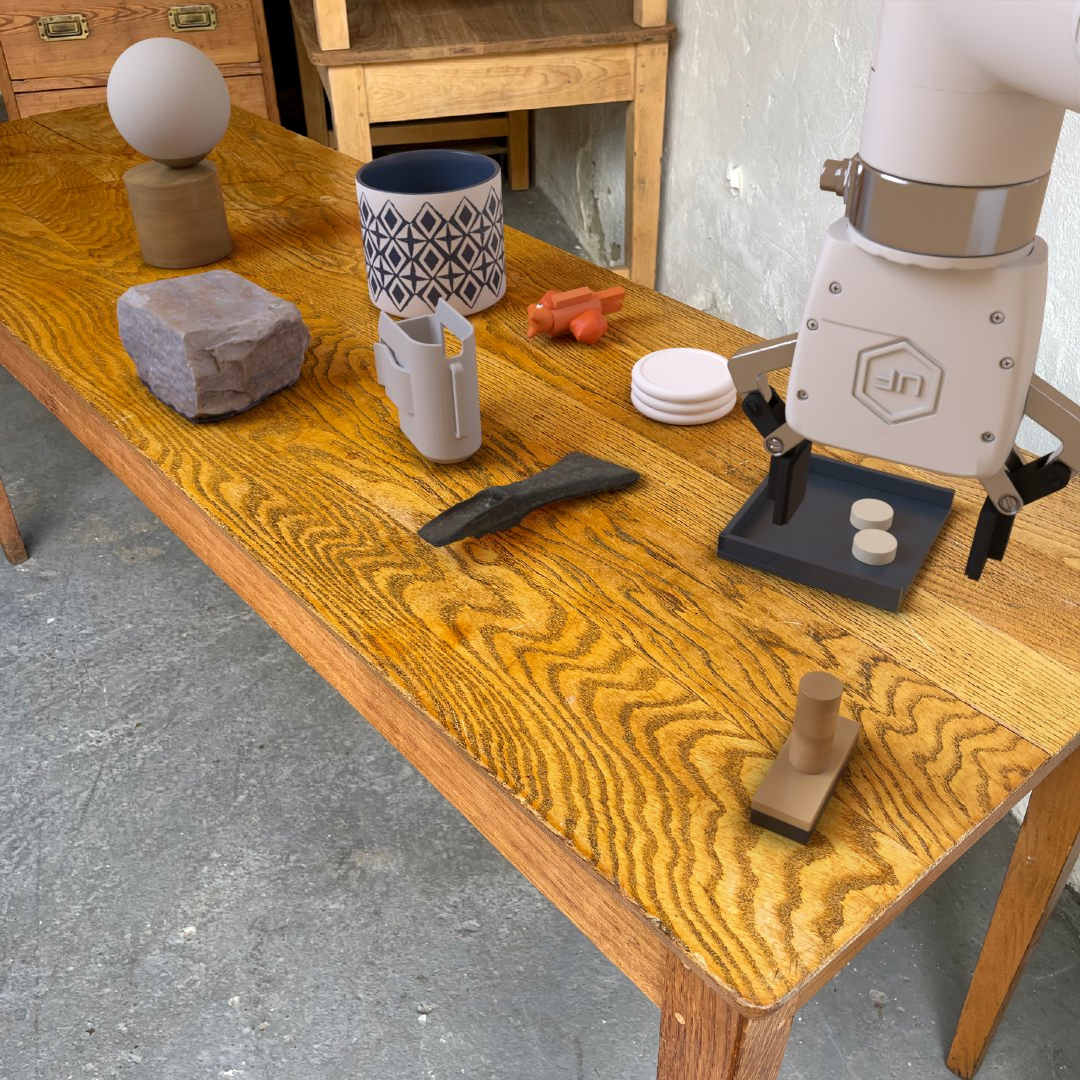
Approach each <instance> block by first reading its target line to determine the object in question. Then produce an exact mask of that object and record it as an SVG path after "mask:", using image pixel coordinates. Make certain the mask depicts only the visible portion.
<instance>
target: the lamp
mask: <svg viewBox="0 0 1080 1080" xmlns="http://www.w3.org/2000/svg"><path fill="white" fill-rule="evenodd" d="M106 100H107V101H106V102H107V107H108V111H109V114H110V117H111V119H112V122H113V124H114V126H115V128H116V129H117V131H118V133H119V134H120V135H121V137H122V138H123V140H125V141H126V142H127V144H129V146H131V148H133V149H134V150H135V151H137V152H138V153H140V154H142V155H144V156H146V157H147V158H149V159H150V160H152V161H147V162H144V163H141V164H137V165H135V166H133V167H131V168H129V169H127V170H126V171H125V172H124V173H123V176H122V178H123V183H124V188H125V190H126V196H127V199H128V204H129V208H130V212H131V216H132V220H133V224H134V228H135V232H136V237H137V240H138V245H139V249H140V253H141V252H142V253H141V256H142V257H141V258H142V259H143V261H144V263H145V264H147V265H148V266H151V267H154V268H159V269H168V270H169V269H171V270H172V269H173V270H174V269H177V270H178V269H180V270H181V269H189V268H196V267H201V266H205V265H206V266H207V265H209V264H212V263H215V262H218V261H220V260H222V259H224V258H225V257H227V256H228V255H229V254H230V253H231V252H232V250H233V241H232V237H231V232H230V226H229V222H228V216H227V212H226V211H227V210H226V206H225V201H224V195H223V190H222V186H221V180H220V175H219V170H218V166H217V164H216V163H215V162H214V161H212V160H209V159H207V158H208V156H209V155H210V154H211V153H212V152H213V151H214V149H215V148H216V147H217V146H218V145H219V144H220V142H221V141H222V139H223V138H224V136H225V134H226V133H227V130H228V127H229V123H230V118H231V97H230V92H229V88H228V86H227V83H226V81H225V78H224V76H223V74H222V72H221V71H220V70H219V68H218V66H217V65H216V64H215V63H214V61H212V59H211V58H210V57H209V56H207V54H205V53H204V52H203V51H202V50H200V48H198V47H196V46H194V45H192V44H190V43H188V42H186V41H183V40H180V39H176V38H172V37H164V36H163V37H162V36H159V37H151V38H147V39H144V40H141V41H138V42H136V43H134V44H132V45H131V46H129V47H128V48H126V50H124V51H123V52H122V53H121V54H120V56H119V57H118V58H117V59H116V61H115V62H114V64H113V66H112V68H111V70H110V73H109V76H108V80H107V86H106Z"/></svg>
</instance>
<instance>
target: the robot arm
mask: <svg viewBox="0 0 1080 1080" xmlns="http://www.w3.org/2000/svg"><path fill="white" fill-rule="evenodd" d="M871 53H872V54H871V60H870V67H869V68H870V69H869V73H868V81H867V89H866V90H867V91H866V94H865V102H864V109H863V110H864V111H863V117H862V126H861V132H860V136H859V137H860V139H859V144H858V152H856V153H855V154H854V155H853V156H851V157H850V158H849V157H843V159H842V160H838V159H832V158H831V159H830V158H826V160H825V161H824V163H823V165H822V168H821V172H820V175H819V189H820V191H822V192H823V191H824V192H830V193H835V195H836V196H837V197H840V198H843V205H845V210H844V214H843V215H842V216H841V217H839V218H838V219H837V220H835V221H834V222H832V223H831V224H830V225H829V226H828V228H827V230H826V232H825V235H824V237H823V239H822V244H821V246H820V249H819V252H818V255H817V258H816V261H815V265H814V268H813V272H812V275H811V278H810V281H809V286H808V289H807V294H806V298H805V301H804V306H803V311H802V315H801V320H800V323H799V329H798V331H796V332H793V333H790V334H786V335H783V336H779V337H775V338H771V339H768V340H764V341H760V342H757V343H752V344H750V345H746V346H743V347H740V348H738V349H737V350H736V351H735V352H734V353H733V355H732V356H730V358H729V359H727V360H728V363H727V367H728V370H729V373H730V375H731V378H732V380H733V382H734V385H735V387H736V390H737V392H736V393H737V395H739V396H740V399H741V401H742V402H741V410H742V412H743V414H744V415H745V416H746V418H747V419H748V420H749V421H750V423H751V424H752V425H753V426H754V428H755V429H756V430H757V432H758V433H759V434H760V436H761V437H762V438H763V449H764V450H765V452H766V453H767V454H769V455H770V462H769V470H768V474H769V477H768V486H767V498H768V499H772V500H775V502H774V510H773V518H772V523H773V524H776V525H779V526H783V525H784V524H785V525H787V524H788V523H789V521H790V520H791V518H792V517H793V515H794V514H795V512H796V511H797V509H798V508H799V506H800V505H801V503H802V502H803V500H804V497H805V492H806V485H807V478H808V470H809V463H810V456H811V453H812V449H813V443H815V444H818V445H821V446H825V447H829V448H832V449H836V450H840V451H843V452H849V453H853V454H856V455H859V456H860V455H861V456H864V457H869V458H872V459H878V460H881V461H885V462H888V463H892V464H896V465H901V466H905V467H909V468H914V469H918V470H922V471H925V472H931V473H934V474H939V475H944V476H947V477H953V478H959V479H967V480H978V481H979V483H980V485H981V486H982V488H983V489H984V491H985V492H986V497H985V499H984V501H983V504H982V506H981V509H980V511H979V514H978V518H977V521H976V526H975V529H974V533H973V538H972V541H971V546H970V548H969V553H968V557H967V561H966V565H965V569H964V572H963V574H964V575H965V576H967V579H968V580H972V581H976V582H980V579H981V576H982V574H983V571H984V569H985V568H986V567H985V566H986V564H987V562H988V559H990V560H992V561H993V560H994V561H998V562H1002V561H1003V559H1004V556H1005V554H1006V552H1007V548H1008V545H1009V543H1010V542H1009V541H1010V538H1011V534H1012V530H1013V527H1014V524H1015V519H1016V516H1017V514H1019V513H1020V512H1022V510H1023V508H1024V507H1026V506H1027V505H1030V504H1032V503H1034V502H1036V501H1039V500H1041V499H1043V498H1046V497H1048V496H1050V495H1052V494H1054V493H1057V492H1059V491H1061V490H1063V489H1065V488H1066V487H1067V486H1068V485H1069V483H1070V481H1071V480H1072V479H1074V478H1075V477H1076V476H1077V475H1078V474H1080V405H1079V404H1077V403H1076V402H1075V401H1073V400H1072V399H1070V398H1069V397H1067V396H1066V395H1065V394H1064V393H1062V392H1061V391H1059V390H1058V389H1057V388H1055V387H1054V386H1053V385H1052V384H1050V383H1049V382H1047V381H1045V380H1044V378H1042V377H1041V376H1038V375H1037V374H1036V373H1035V371H1036V365H1037V360H1038V355H1039V351H1040V350H1039V349H1040V343H1041V337H1042V331H1043V325H1044V319H1045V318H1044V317H1045V309H1046V302H1047V291H1048V278H1049V277H1048V276H1049V275H1048V273H1049V245H1048V243H1047V242H1046V240H1045V239H1044V238H1043V237H1041V235H1038V234H1037V230H1038V225H1039V222H1040V217H1041V214H1042V209H1043V205H1044V202H1045V197H1046V194H1047V190H1048V185H1049V182H1050V178H1051V177H1050V176H1051V173H1052V167H1053V164H1054V163H1053V162H1054V159H1055V155H1056V151H1057V147H1058V143H1059V139H1060V134H1061V131H1062V127H1063V124H1064V120H1065V115H1066V113H1067V112H1066V111H1067V110H1068V111H1071V112H1073V113H1076V114H1079V115H1080V0H879V5H878V12H877V18H876V24H875V32H874V40H873V45H872V52H871ZM790 367H791V368H790ZM786 368H790V373H789V378H788V383H787V390H786V398H785V402H784V400H783V398H782V397H781V396H780V395H779V393H778V392H777V391H776V390H775V388H774V387H773V386H772V385H770V384H769V382H768V381H769V378H768V375H767V373H771V372H774V371H779V370H783V369H786ZM1025 416H1026V417H1028V418H1029V419H1031V420H1032V421H1033V422H1035V423H1036V424H1037V425H1039V426H1040V427H1042V428H1043V429H1044V430H1046V431H1047V432H1048V433H1050V434H1051V435H1052V436H1054V437H1055V438H1056V439H1058V440H1059V441H1060V442H1061V443H1060V445H1059V447H1057V448H1056V449H1055V450H1053V451H1050V452H1049V453H1047V454H1044V455H1042V456H1040V457H1038V458H1036V459H1033V460H1032V461H1030V462H1027V460H1026V458H1025V456H1024V454H1023V453H1022V451H1021V450H1020V449H1019V446H1018V445H1017V444H1016V442H1015V441H1016V439H1017V435H1018V433H1019V429H1020V426H1021V423H1022V421H1023V419H1024V417H1025Z"/></svg>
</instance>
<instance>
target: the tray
mask: <svg viewBox="0 0 1080 1080" xmlns="http://www.w3.org/2000/svg"><path fill="white" fill-rule="evenodd" d="M768 477H769V473H767V475H766V476H765V477H764V479H762V481H761V482H760V483H759V485H758V486H757V487H756V488H755V490H754V491H753V492H752V493H751V495H750V496H748V498H747V499H746V500H745V502H744V503H743V504H742V506H741V507H740V508H739V509H738V511H736V513H735V514H734V515H733V517H732V518H731V519H730V520H729V522H728V523H727V524H726V525H725V527H724V528H723V529H722V530H721V531H720V532H719V533H718V536H717V538H718V539H717V549H716V550H717V552H716V557H717V558H720V559H723V560H725V561H726V560H727V561H729V562H732V563H734V564H738V565H742V566H744V567H748V568H751V569H754V570H758V571H761V572H764V573H767V574H770V575H773V576H776V577H780V578H783V579H786V580H789V581H793V582H796V583H799V584H802V585H804V586H805V585H806V586H808V587H812V588H815V589H819V590H821V591H823V592H824V591H825V592H828V593H831V594H834V595H836V596H837V595H838V596H841V597H844V598H847V599H850V600H853V601H856V602H860V603H863V604H866V605H868V606H872V607H875V608H879V609H882V610H886V611H888V612H892V613H895V614H896V613H898V610H899V609H900V607H901V606H902V604H903V601H904V599H905V598H906V596H907V595H908V592H909V590H910V589H911V586H912V584H913V583H914V581H915V579H916V577H917V576H918V573H919V572H920V570H921V568H922V566H923V564H924V562H925V561H926V559H927V557H928V555H929V553H930V552H931V550H932V548H933V546H934V544H935V542H936V540H937V538H938V536H939V535H940V533H941V531H942V529H943V527H944V525H945V523H946V522H947V520H948V518H949V516H950V514H951V512H952V509H953V505H954V501H955V496H956V489H953V488H949V487H945V486H943V485H938V484H935V483H930V482H926V481H922V480H920V479H919V480H918V479H914V478H911V477H906V476H903V475H899V474H896V473H891V472H887V471H884V470H880V469H876V468H872V467H868V466H864V465H861V464H857V463H853V462H849V461H846V460H845V461H844V460H841V459H838V458H833V457H830V456H826V455H822V454H819V453H814V452H811V456H810V463H809V470H808V478H807V485H806V492H805V497H804V500H803V502H802V503H801V505H800V506H799V508H798V509H797V511H796V512H795V514H794V515H793V517H792V518H791V520H790V521H789V523H788V524H787V525H785V524H784V525H783V526H779V525H776V524H773V523H772V518H773V510H774V502H775V500H772V499H768V498H767V486H768ZM862 499H876V500H880V501H883V502H885V503H887V504H888V505H890V506H891V507H892V509H893V512H894V513H893V519H892V524H891V527H890V528H889V529H888V530H887V531H885V532H888V533H890V534H891V535H892V536H894V537H895V539H896V540H897V549H896V555H895V558H894V560H893V561H892V562H890V563H888V564H886V565H869V564H866V563H863V562H861V561H859V560H858V559H856V558H855V557H854V555H853V553H852V546H853V541H854V536H855V535H856V534H857V533H858V532H859V531H861V530H859V529H857V528H855V527H854V526H853V525H852V524H851V522H850V515H851V509H852V505H853V504H854V503H855V502H856V501H858V500H862Z"/></svg>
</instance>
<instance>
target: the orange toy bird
mask: <svg viewBox="0 0 1080 1080" xmlns="http://www.w3.org/2000/svg"><path fill="white" fill-rule="evenodd" d="M626 295H627V291H626V290H625V289H624V287H623V286H622V285H619V286H615V287H610V288H607V289H603V290H600V291H593V290H591V289H590V287H589V286H582V287H578V288H575V289H571V290H566V291H561V290H555V289H550V290H548V291H547V292H546V293H545V294H544V295H543V296H542V297H541V298H540V299H539V301H538V302H537V303H531V304H528V306H527V309H526V311H527V323H528V325H529V326H528V331H527V333H526V338H527V339H529V340H531V339H532V338H534V337H536V336H538V335H539V334H544V333H545V334H546V335H547V336H548V337H549V338H550V339H552V338H556V337H560V336H564V335H567V334H570V333H571V334H573V336H574V337H575V339H576V340H577V342H580V343H584V344H587V345H593V344H595V343H597V342H598V341H599V339H600V338H601V337H602V336H604V335H605V334H606V333H607V331H608V329H609V325H608V322H607V319H606V317H605V316H608V315H610V314H614V313H618V312H621V311H622V309H623V305H624V303H623V302H622V301H623V300H625V298H626Z"/></svg>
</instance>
